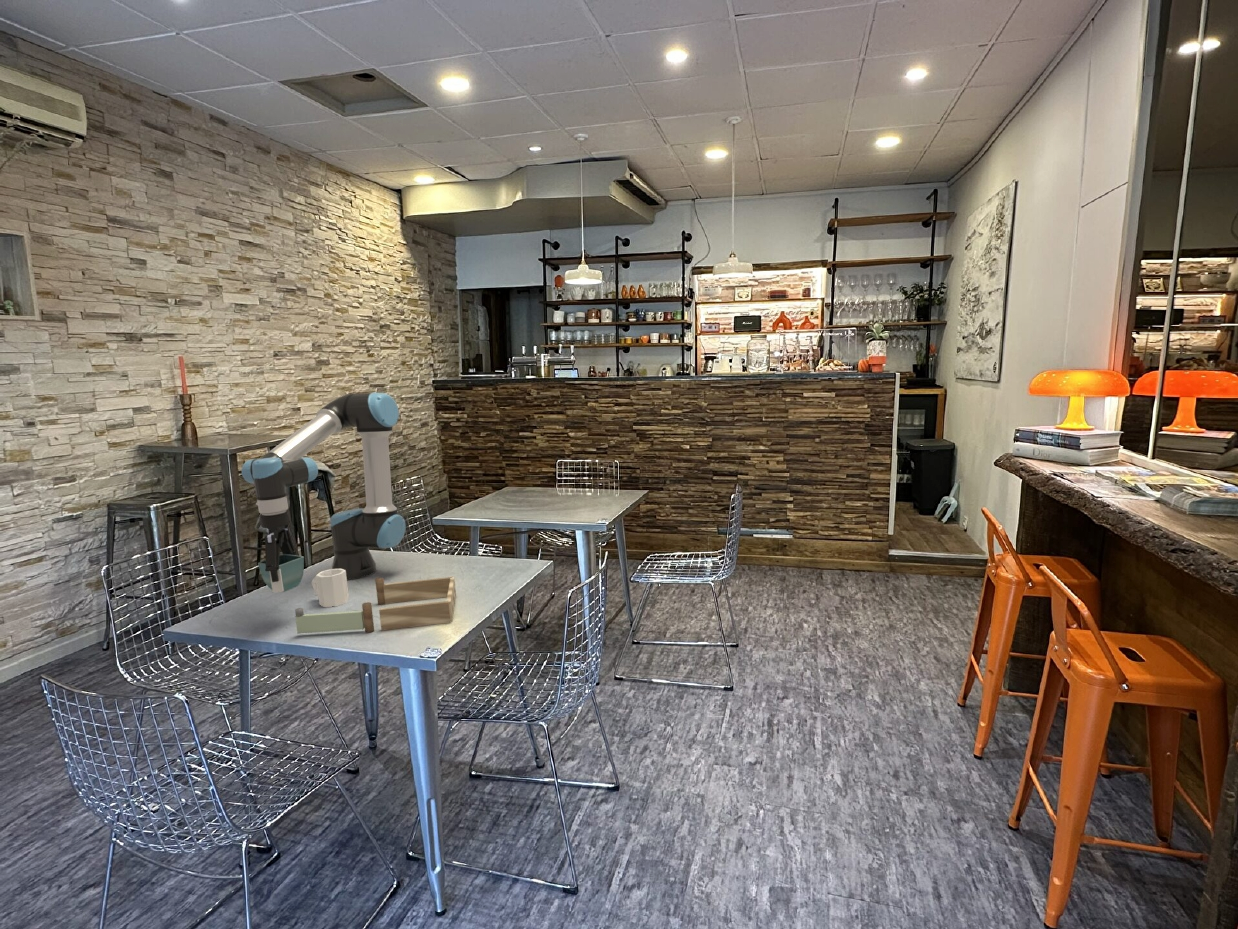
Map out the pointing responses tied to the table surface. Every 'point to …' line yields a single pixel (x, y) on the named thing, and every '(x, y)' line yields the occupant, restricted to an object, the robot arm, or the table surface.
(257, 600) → the table surface
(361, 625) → the gate
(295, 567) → the flower pot
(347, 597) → the mug
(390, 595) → the wooden u-shaped enclosure
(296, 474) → the robot arm
